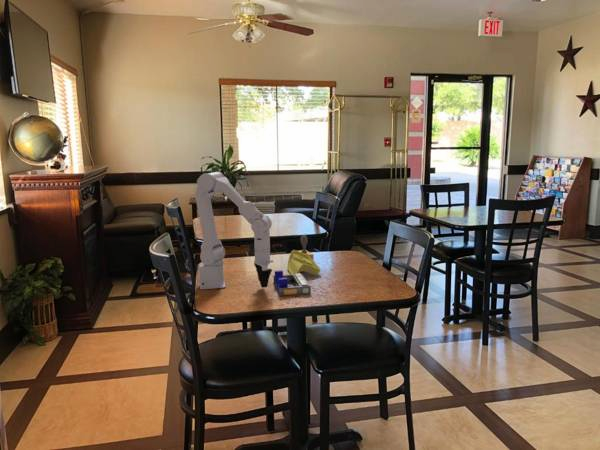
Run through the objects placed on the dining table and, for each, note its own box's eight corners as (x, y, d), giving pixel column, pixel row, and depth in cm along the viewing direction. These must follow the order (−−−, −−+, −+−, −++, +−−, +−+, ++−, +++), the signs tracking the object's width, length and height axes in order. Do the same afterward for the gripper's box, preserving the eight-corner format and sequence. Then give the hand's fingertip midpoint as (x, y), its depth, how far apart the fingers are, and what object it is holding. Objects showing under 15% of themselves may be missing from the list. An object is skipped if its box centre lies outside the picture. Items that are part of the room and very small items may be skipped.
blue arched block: (291, 294, 178) (291, 278, 177) (279, 295, 177) (279, 279, 176) (286, 284, 190) (286, 269, 189) (274, 285, 189) (274, 270, 188)
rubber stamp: (313, 262, 223) (313, 236, 221) (302, 263, 221) (301, 237, 219) (306, 257, 232) (305, 232, 230) (294, 258, 230) (294, 233, 228)
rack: (280, 296, 175) (279, 287, 174) (273, 283, 191) (273, 274, 191) (310, 294, 177) (310, 285, 176) (301, 281, 193) (301, 272, 193)
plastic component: (322, 270, 200) (301, 262, 197) (314, 286, 201) (293, 278, 198) (309, 256, 219) (290, 248, 215) (302, 270, 219) (283, 262, 216)
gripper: (275, 252, 173) (276, 289, 176) (270, 244, 187) (271, 277, 190) (256, 253, 172) (256, 290, 174) (252, 245, 186) (253, 279, 188)
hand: (263, 284), depth 182 cm, fingers open, 7 cm apart
